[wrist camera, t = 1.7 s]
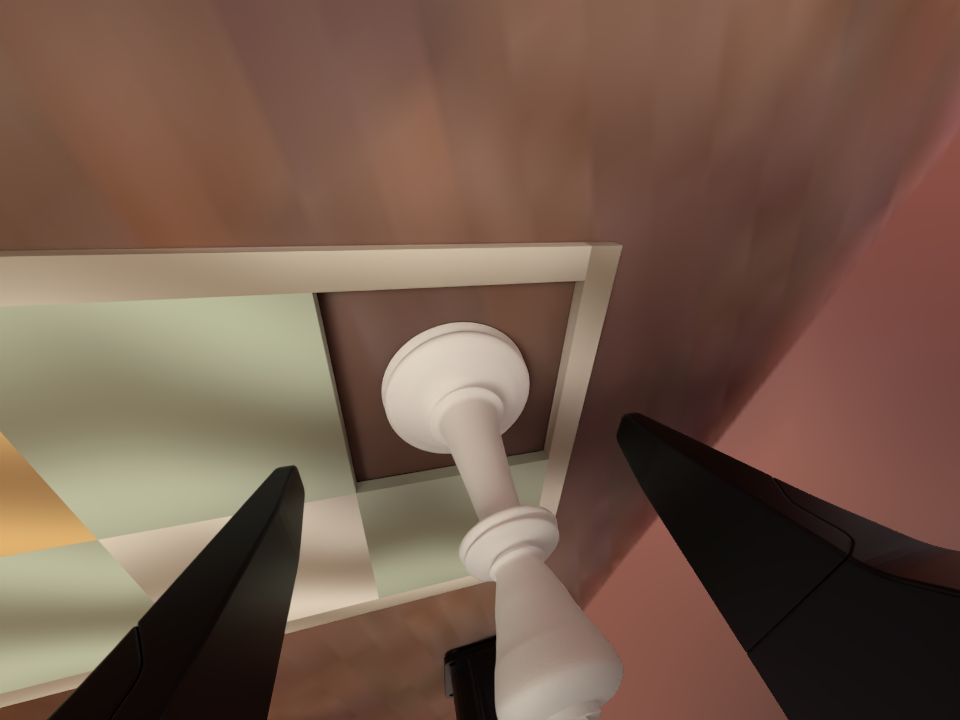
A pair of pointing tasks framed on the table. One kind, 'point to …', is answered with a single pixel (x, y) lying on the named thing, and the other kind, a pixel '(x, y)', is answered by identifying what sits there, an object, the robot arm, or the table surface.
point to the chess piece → (502, 519)
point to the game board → (225, 432)
